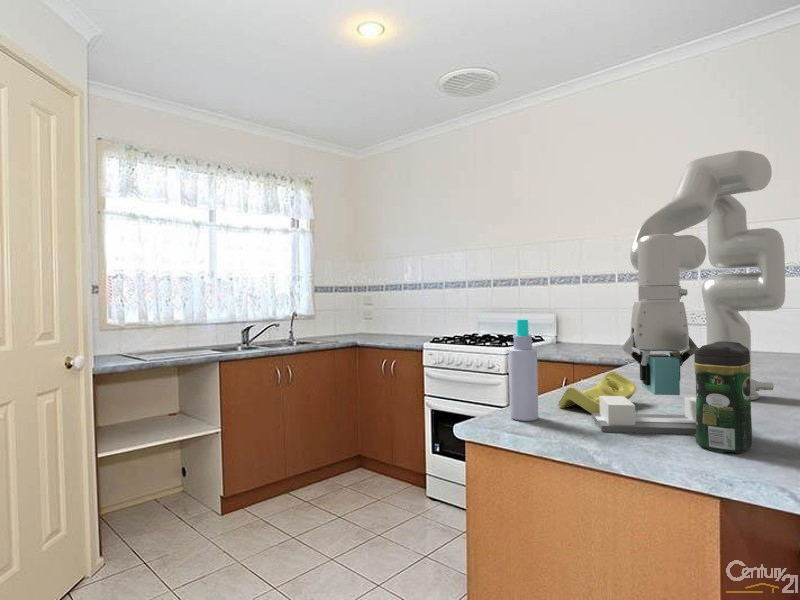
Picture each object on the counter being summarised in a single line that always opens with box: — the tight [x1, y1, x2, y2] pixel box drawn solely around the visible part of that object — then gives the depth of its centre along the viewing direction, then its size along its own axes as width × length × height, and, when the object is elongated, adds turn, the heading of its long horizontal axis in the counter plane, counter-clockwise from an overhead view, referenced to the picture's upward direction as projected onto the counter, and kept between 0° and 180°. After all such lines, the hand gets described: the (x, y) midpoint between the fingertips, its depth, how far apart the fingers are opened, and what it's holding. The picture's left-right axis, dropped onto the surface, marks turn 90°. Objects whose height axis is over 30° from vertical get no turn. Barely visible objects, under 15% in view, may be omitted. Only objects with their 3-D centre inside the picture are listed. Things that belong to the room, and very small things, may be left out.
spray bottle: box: [508, 318, 539, 422], centre depth 112 cm, size 6×6×22 cm
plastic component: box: [557, 371, 637, 414], centre depth 123 cm, size 20×7×10 cm
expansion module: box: [641, 353, 681, 396], centre depth 103 cm, size 4×9×7 cm, turn 169°
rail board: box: [591, 396, 696, 435], centre depth 103 cm, size 25×11×5 cm, turn 79°
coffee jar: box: [693, 341, 753, 454], centre depth 89 cm, size 10×8×19 cm
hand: (659, 383), depth 103 cm, fingers closed on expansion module, 4 cm apart
